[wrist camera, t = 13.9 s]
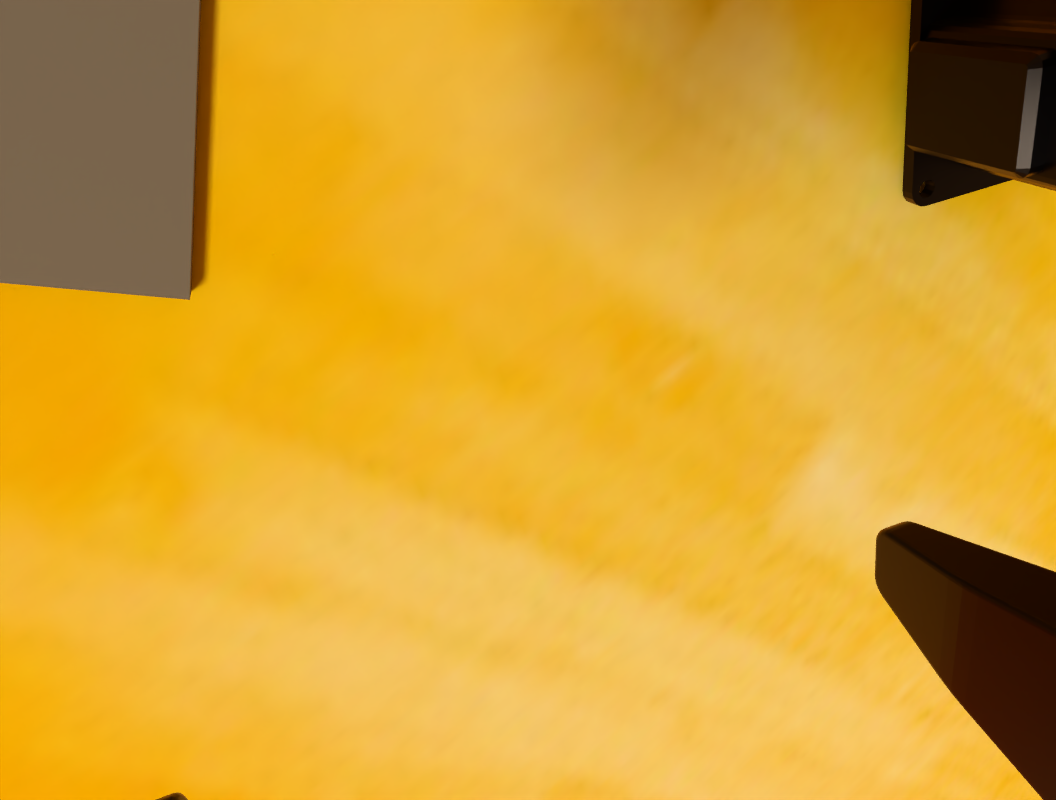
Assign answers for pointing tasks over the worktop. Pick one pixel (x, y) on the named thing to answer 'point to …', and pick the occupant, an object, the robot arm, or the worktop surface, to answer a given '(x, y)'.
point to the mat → (98, 144)
